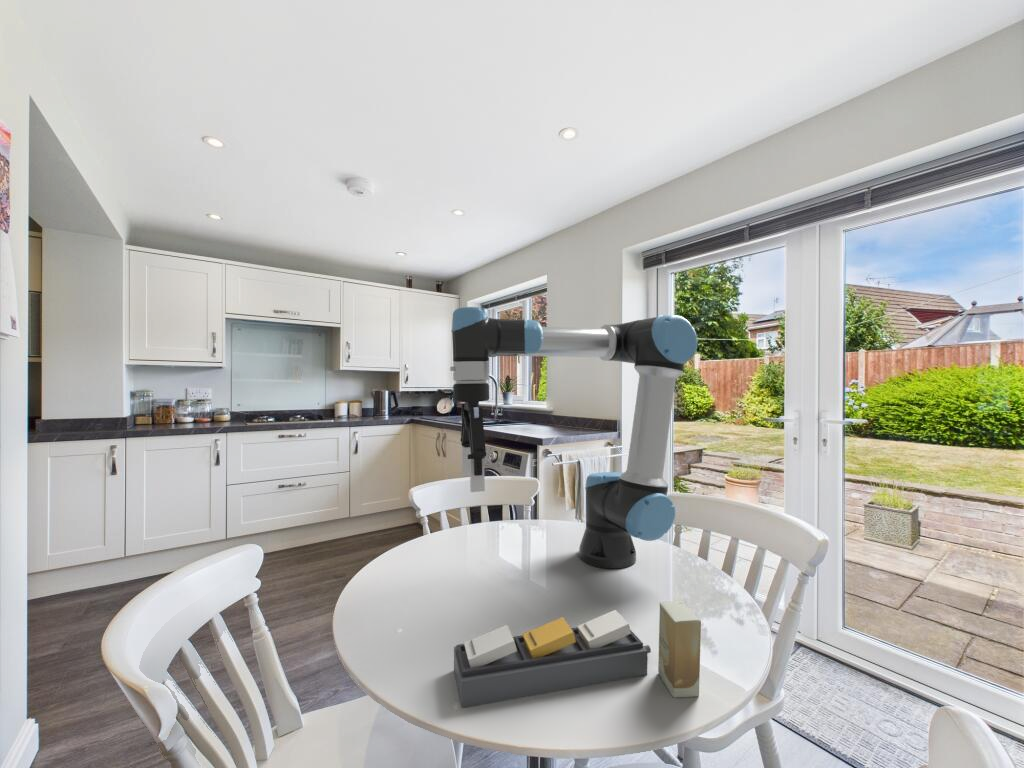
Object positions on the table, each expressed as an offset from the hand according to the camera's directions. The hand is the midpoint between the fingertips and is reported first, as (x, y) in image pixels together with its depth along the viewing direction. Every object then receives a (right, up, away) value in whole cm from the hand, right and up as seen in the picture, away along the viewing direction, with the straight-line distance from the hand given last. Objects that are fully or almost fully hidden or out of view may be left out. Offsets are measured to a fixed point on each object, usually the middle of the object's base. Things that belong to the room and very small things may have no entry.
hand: (472, 483), depth 97 cm
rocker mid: (+15, -22, -20) cm, 33 cm away
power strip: (+16, -27, -20) cm, 37 cm away
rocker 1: (+5, -22, -22) cm, 32 cm away
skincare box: (+35, -28, -23) cm, 50 cm away
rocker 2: (+24, -22, -17) cm, 37 cm away
